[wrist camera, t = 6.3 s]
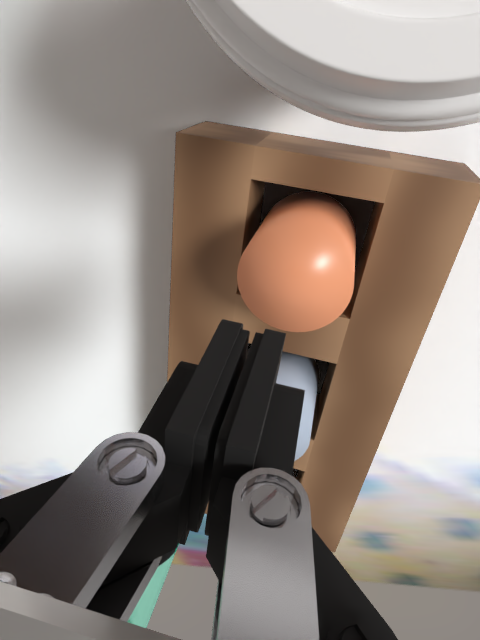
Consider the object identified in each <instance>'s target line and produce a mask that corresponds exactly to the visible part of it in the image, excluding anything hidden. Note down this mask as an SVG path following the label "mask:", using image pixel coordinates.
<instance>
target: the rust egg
mask: <svg viewBox="0 0 480 640" xmlns="http://www.w3.org/2000/svg"><path fill="white" fill-rule="evenodd" d="M355 252H356V229H355V225H354V222H353V219H352V217H351V216H350V214H349V212H348V211H347V210H346V208H345V207H344V206H343V205H342V204H341V203H340V202H338V201H337V200H336V199H334V198H332V197H330V196H328V195H326V194H323V193H319V192H312V191H307V192H298V193H295V194H291V195H289V196H287V197H285V198H283V199H282V200H280V201H279V202H278V203H276V204H275V205H274V206H273V207H272V209H271V210H270V211H269V213H268V214H267V216H266V217H265V219H264V220H263V222H262V224H261V225H260V227H259V228H258V230H257V231H256V233H255V235H254V236H253V238H252V239H251V241H250V242H249V244H248V246H247V247H246V249H245V250H244V252H243V254H242V256H241V258H240V261H239V265H238V270H237V282H238V288H239V291H240V294H241V297H242V299H243V301H244V303H245V304H246V305H247V307H248V308H249V310H250V311H251V312H252V313H253V314H254V315H255V316H256V317H257V318H259V319H260V320H261V321H263V322H264V323H266V324H268V325H270V326H272V327H274V328H277V329H280V330H284V331H289V332H308V331H313V330H316V329H320V328H322V327H324V326H326V325H328V324H330V323H332V322H333V321H334V320H336V319H337V318H338V317H339V316H340V315H341V314H342V313H343V312H344V310H345V309H346V308H347V306H348V304H349V302H350V300H351V297H352V294H353V289H354V275H355Z"/></svg>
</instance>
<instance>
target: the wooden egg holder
mask: <svg viewBox="0 0 480 640" xmlns="http://www.w3.org/2000/svg"><path fill="white" fill-rule="evenodd" d="M265 182H270V183H275V184H281V185H286V186H292V187H297V188H303V189H308V190H314V191H319V192H325V193H330V194H336V195H341V196H347V197H352V198H358V199H364V200H369V201H375V203H374V206H373V210H372V213H371V217H370V220H369V224H368V227H367V231H366V235H365V238H364V242H363V245H362V249H361V252H360V256H359V259H358V263H357V266H356V270H355V275H354V289H353V294H352V297H351V300H350V302H349V304H348V306H347V308H346V309H345V310H344V312H343V313H342V314H341V315H340V316H339V317H338V318H337V319H336V320H334V321H333V322H332V323H330V324H328V325H326V326H324V327H322V328H320V329H316V330H313V331H308V332H289V331H284V330H280V329H277V328H274V327H272V326H270V325H268V324H266V323H264V322H263V321H261V320H260V319H259V318H257V317H256V316H255V315H254V314H253V313H252V312H251V311H250V310H249V308H248V307H247V305H246V304H245V303H244V301H243V299H242V297H241V294H240V291H239V288H238V282H237V270H238V265H239V261H240V258H241V256H242V254H243V252H244V250H245V249H246V247H247V246H248V244H249V242H250V241H251V239H252V238H253V236H254V235H255V233H256V231H257V230H258V228H259V224H260V217H261V210H262V203H263V196H264V189H265ZM479 200H480V178H479V177H478V176H477V175H476V174H475V173H474V172H473V171H472V170H471V169H470V168H469V167H468V166H467V165H466V164H464V163H458V162H452V161H445V160H439V159H433V158H427V157H421V156H415V155H409V154H403V153H397V152H391V151H385V150H378V149H372V148H366V147H360V146H354V145H348V144H342V143H336V142H330V141H324V140H317V139H311V138H305V137H299V136H293V135H287V134H281V133H275V132H269V131H263V130H257V129H250V128H244V127H238V126H232V125H226V124H220V123H214V122H208V121H205V122H202V123H200V124H197V125H194V126H192V127H189V128H186V129H183V130H181V131H178V132H176V145H175V174H174V203H173V232H172V261H171V289H170V318H169V347H168V376H167V382H168V380H169V379H170V377H171V375H172V373H173V372H174V370H175V368H176V367H177V365H178V364H179V362H181V361H184V362H188V363H193V364H197V365H198V364H199V362H200V360H201V358H202V357H203V355H204V353H205V351H206V349H207V347H208V345H209V343H210V341H211V339H212V337H213V335H214V333H215V331H216V329H217V327H218V325H219V323H220V322H221V320H222V319H225V320H229V321H234V322H238V323H243V329H244V330H248V331H250V335H249V342H248V343H250V344H252V341H253V339H254V336H255V333H256V332H257V333H262V334H264V331H265V329H270V330H274V331H279V332H283V333H286V337H285V342H284V347H283V351H284V352H288V353H292V354H297V355H301V356H305V357H309V358H314V359H318V360H322V361H326V362H329V365H328V369H327V373H326V376H325V380H324V383H323V387H322V390H321V394H320V395H319V394H317V395H316V402H315V409H314V416H313V423H312V430H311V437H310V443H309V446H308V449H307V450H306V452H305V453H304V454H303V455H302V456H301V457H300V458H299V459H297V460H295V461H294V467H293V468H294V469H298V470H299V472H298V475H297V477H294V476H293V477H294V478H295V479H296V480H297V481H298V482H300V483H301V484H302V486H303V488H304V489H305V491H306V493H307V494H308V498H309V503H310V511H311V526H312V528H313V529H314V530H315V531H316V533H317V534H318V535H319V537H320V538H321V539H322V540H323V542H324V543H325V544H326V546H327V547H328V548H329V550H330V551H332V552H335V551H336V548H337V546H338V543H339V541H340V539H341V536H342V534H343V531H344V529H345V526H346V524H347V522H348V519H349V517H350V514H351V512H352V509H353V507H354V505H355V502H356V500H357V497H358V495H359V492H360V490H361V487H362V485H363V483H364V480H365V478H366V475H367V473H368V470H369V468H370V466H371V463H372V461H373V458H374V456H375V453H376V451H377V449H378V446H379V444H380V441H381V439H382V436H383V434H384V432H385V429H386V427H387V424H388V422H389V419H390V417H391V414H392V412H393V410H394V407H395V405H396V402H397V400H398V397H399V395H400V393H401V390H402V388H403V385H404V383H405V380H406V378H407V376H408V373H409V371H410V368H411V366H412V363H413V361H414V358H415V356H416V354H417V351H418V349H419V346H420V344H421V341H422V339H423V337H424V334H425V332H426V329H427V327H428V324H429V322H430V320H431V317H432V315H433V312H434V310H435V307H436V305H437V303H438V300H439V298H440V295H441V293H442V290H443V288H444V285H445V283H446V281H447V278H448V276H449V273H450V271H451V268H452V266H453V264H454V261H455V259H456V256H457V254H458V251H459V249H460V247H461V244H462V242H463V239H464V237H465V234H466V232H467V230H468V227H469V225H470V222H471V220H472V217H473V215H474V212H475V210H476V208H477V205H478V203H479ZM208 502H209V501H208ZM207 511H208V504H207V507H206V510H205V514H207Z"/></svg>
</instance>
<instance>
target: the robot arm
mask: <svg viewBox="0 0 480 640" xmlns="http://www.w3.org/2000/svg"><path fill="white" fill-rule="evenodd" d="M249 335H250V331H248V330H244V329H243V323H238V322H234V321H229V320H225V319H222V320H221V322H220V323H219V325H218V327H217V329H216V331H215V333H214V335H213V337H212V339H211V341H210V343H209V345H208V347H207V349H206V351H205V353H204V355H203V357H202V358H201V360H200V362H199V364H198V365H197V364H193V363H188V362H184V361H181V362H179V364H178V365H177V367H176V368H175V370H174V372H173V373H172V375H171V377H170V379H169V380H168V382H167V384H166V385H165V387H164V389H163V391H162V392H161V394H160V396H159V397H158V399H157V401H156V403H155V404H154V406H153V408H152V409H151V411H150V413H149V415H148V416H147V418H146V420H145V421H144V423H143V425H142V427H141V428H140V430H139V432H138V433H130V432H126V433H122V434H117V435H114V436H112V437H110V438H108V439H106V440H104V441H103V442H102V443H100V444H99V445H98V446H97V447H96V448H95V449H94V450H93V451H92V452H91V453H90V455H89V456H88V457H87V458H86V459H85V460H84V461H83V462H82V463H81V465H80V466H79V467H78V468H77V469H76V470H75V471H74V472H73V473H70V474H68V475H65V476H62V477H59V478H57V479H54V480H51V481H48V482H46V483H43V484H40V485H38V486H35V487H32V488H29V489H27V490H24V491H21V492H18V493H16V494H13V495H10V496H7V497H5V498H2V499H0V640H181V639H177V638H174V637H171V636H168V635H165V634H162V633H159V632H156V631H153V630H150V629H147V628H144V627H141V626H137V625H134V624H131V623H128V622H127V621H128V620H129V618H130V616H131V614H132V612H133V611H134V609H135V607H136V605H137V603H138V602H139V600H140V598H141V596H142V595H143V593H144V591H145V589H146V587H147V586H148V584H149V582H150V580H151V578H152V577H153V575H154V573H155V571H156V569H157V568H158V566H159V563H160V560H161V558H162V555H164V554H166V553H168V552H170V551H172V550H174V549H176V548H177V547H178V544H179V543H180V544H183V545H185V543H186V540H187V537H188V534H189V531H194V532H198V531H199V528H200V526H201V523H202V520H203V517H204V513H205V510H206V507H207V504H208V511H207V519H206V527H205V535H208V536H209V539H208V546H207V554H206V557H207V559H208V561H209V563H210V565H211V567H212V568H213V570H214V572H215V574H216V576H217V577H218V586H217V594H216V604H215V612H214V621H213V629H212V638H211V640H398V639H397V638H396V636H395V634H394V633H393V631H392V630H391V629H390V627H389V626H388V624H387V623H386V622H385V621H384V619H383V618H382V617H381V616H380V614H379V613H378V612H377V610H376V609H375V608H374V606H373V605H372V604H371V603H370V601H369V600H368V599H367V597H366V596H365V595H364V594H363V592H362V591H361V590H360V588H359V587H358V586H357V585H356V583H355V582H354V581H353V579H352V578H351V577H350V575H349V574H348V573H347V571H346V570H345V569H344V568H343V566H342V565H341V564H340V562H339V561H338V560H337V559H336V557H335V556H334V555H333V553H332V552H331V551H330V550H329V548H328V547H327V546H326V544H325V543H324V542H323V540H322V539H321V538H320V537H319V535H318V534H317V533H316V531H315V530H314V529H313V528H312V526H311V511H310V503H309V498H308V494H307V493H306V491H305V489H304V488H303V486H302V484H301V483H300V482H298V481H297V480H296V479H295V478H294V477H293V476H292V473H293V467H294V460H295V454H296V447H297V440H298V434H299V427H300V421H301V414H302V408H303V401H304V394H305V390H302V389H298V388H294V387H290V386H286V385H281V384H277V383H276V380H277V376H278V371H279V366H280V361H281V356H282V351H283V347H284V342H285V337H286V333H283V332H279V331H274V330H270V329H265V331H264V334H262V333H257V332H256V333H255V336H254V339H253V341H252V344H251V347H250V350H249V352H248V355H247V349H248V342H249ZM246 355H247V358H246ZM208 501H209V502H208Z"/></svg>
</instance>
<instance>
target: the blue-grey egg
mask: <svg viewBox="0 0 480 640" xmlns="http://www.w3.org/2000/svg"><path fill="white" fill-rule="evenodd" d="M249 350H250V349H249ZM249 350H248V351H247V355H248V352H249ZM247 355H246V358H247ZM318 381H319V369H318V366H317V363H316V361H315V359H314V358H309V357H305V356H301V355H297V354H292V353H288V352H284V351H282V356H281V361H280V366H279V371H278V376H277V380H276V383H277V384H281V385H286V386H290V387H294V388H298V389H302V390H305V394H304V401H303V408H302V414H301V421H300V427H299V434H298V440H297V447H296V454H295V460H297V459H299V458H300V457H301V456H302V455H303V454H304V453H305V452H306V450H307V449H308V446H309V443H310V437H311V430H312V423H313V416H314V409H315V402H316V395H317V388H318ZM295 460H294V461H295Z"/></svg>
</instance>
